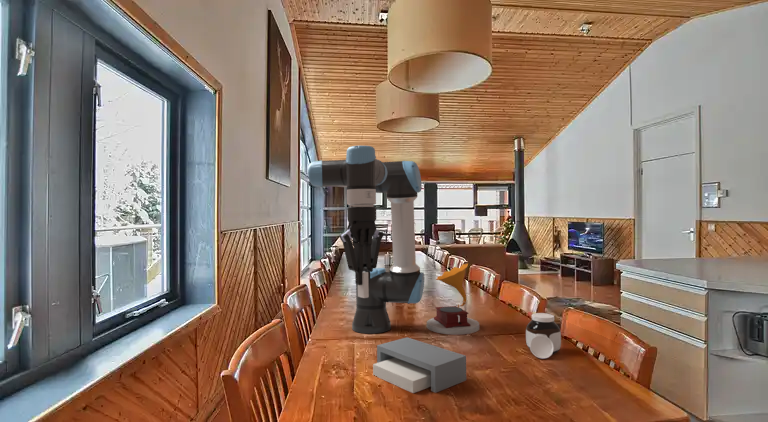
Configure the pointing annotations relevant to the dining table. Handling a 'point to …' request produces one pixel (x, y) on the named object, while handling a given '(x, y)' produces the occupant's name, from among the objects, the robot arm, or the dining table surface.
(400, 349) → the low overhang
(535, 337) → the spread jar
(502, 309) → the dining table surface
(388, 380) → the pale grey flat slab
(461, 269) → the gramophone
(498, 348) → the dining table surface
